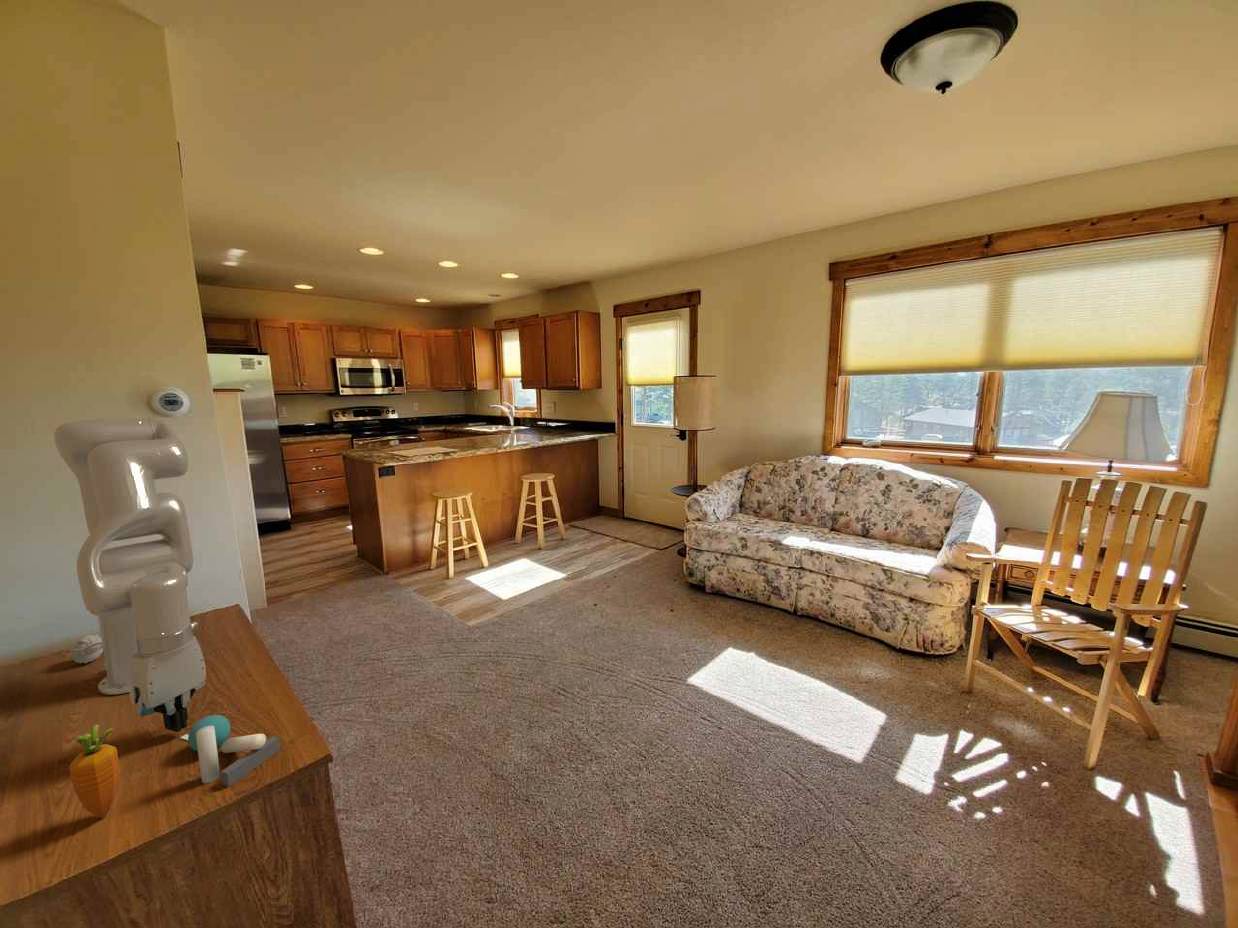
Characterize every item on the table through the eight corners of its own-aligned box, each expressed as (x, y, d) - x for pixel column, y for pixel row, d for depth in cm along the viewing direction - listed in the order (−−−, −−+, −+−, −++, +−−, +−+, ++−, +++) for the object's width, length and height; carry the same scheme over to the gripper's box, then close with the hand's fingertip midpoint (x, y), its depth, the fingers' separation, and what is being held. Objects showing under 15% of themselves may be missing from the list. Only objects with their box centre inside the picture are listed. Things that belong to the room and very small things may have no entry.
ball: (206, 751, 85) (195, 764, 87) (242, 727, 91) (230, 740, 93) (186, 724, 86) (175, 738, 88) (223, 702, 91) (212, 716, 93)
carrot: (101, 804, 77) (87, 719, 75) (134, 802, 78) (122, 717, 75) (69, 832, 72) (53, 742, 70) (105, 830, 73) (90, 740, 71)
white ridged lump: (82, 671, 114) (77, 643, 113) (63, 666, 116) (58, 639, 115) (114, 658, 120) (110, 631, 119) (96, 653, 122) (92, 627, 121)
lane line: (180, 738, 92) (180, 737, 92) (186, 734, 93) (186, 733, 93) (213, 748, 89) (213, 747, 89) (219, 744, 90) (219, 743, 90)
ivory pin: (218, 744, 88) (249, 740, 84) (232, 734, 90) (262, 730, 87) (224, 756, 88) (254, 752, 85) (237, 746, 90) (268, 742, 87)
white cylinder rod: (198, 781, 82) (192, 733, 81) (213, 770, 84) (207, 724, 83) (208, 784, 81) (202, 736, 80) (223, 774, 84) (217, 727, 82)
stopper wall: (222, 784, 81) (220, 771, 81) (274, 747, 90) (272, 735, 89) (228, 786, 81) (227, 773, 80) (280, 749, 89) (278, 737, 89)
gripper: (195, 619, 98) (206, 701, 101) (100, 656, 84) (114, 750, 87) (222, 624, 96) (231, 708, 99) (128, 663, 82) (142, 760, 85)
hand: (177, 727), depth 93 cm, fingers closed
